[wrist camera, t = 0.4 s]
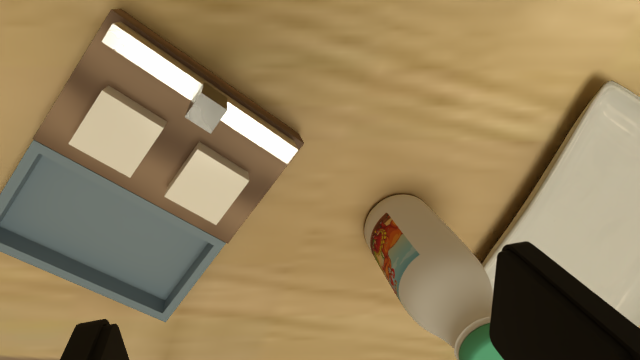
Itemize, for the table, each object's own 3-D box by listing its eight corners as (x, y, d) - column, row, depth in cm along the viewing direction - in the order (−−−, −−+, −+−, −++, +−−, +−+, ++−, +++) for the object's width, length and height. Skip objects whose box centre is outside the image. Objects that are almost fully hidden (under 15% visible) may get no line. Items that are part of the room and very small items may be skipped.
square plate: (732, 164, 54) (767, 176, 50) (599, 331, 61) (621, 352, 58) (585, 72, 45) (616, 78, 42) (450, 280, 52) (466, 301, 49)
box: (45, 131, 37) (33, 140, 34) (226, 230, 44) (225, 243, 41) (-13, 225, 39) (-28, 239, 37) (168, 306, 46) (165, 322, 43)
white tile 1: (108, 85, 34) (101, 90, 32) (166, 121, 35) (163, 128, 34) (76, 136, 34) (68, 143, 33) (135, 169, 36) (130, 178, 35)
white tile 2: (199, 141, 37) (197, 149, 35) (248, 172, 38) (249, 181, 37) (167, 187, 38) (164, 196, 36) (216, 214, 39) (216, 225, 38)
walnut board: (120, 8, 34) (111, 9, 32) (299, 134, 41) (304, 143, 38) (47, 128, 37) (32, 138, 34) (227, 228, 43) (227, 243, 41)
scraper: (122, 18, 32) (98, 23, 26) (295, 138, 38) (308, 165, 32) (108, 41, 32) (81, 51, 26) (282, 156, 38) (292, 185, 32)
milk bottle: (395, 178, 45) (508, 299, 27) (443, 216, 48) (572, 347, 30) (347, 232, 46) (424, 381, 28) (396, 265, 49) (493, 420, 31)
